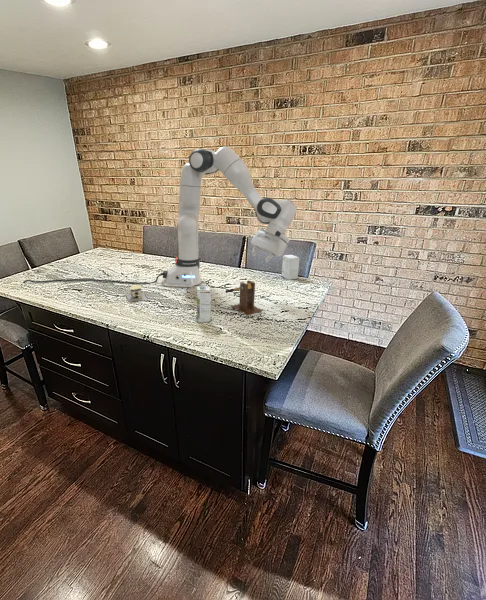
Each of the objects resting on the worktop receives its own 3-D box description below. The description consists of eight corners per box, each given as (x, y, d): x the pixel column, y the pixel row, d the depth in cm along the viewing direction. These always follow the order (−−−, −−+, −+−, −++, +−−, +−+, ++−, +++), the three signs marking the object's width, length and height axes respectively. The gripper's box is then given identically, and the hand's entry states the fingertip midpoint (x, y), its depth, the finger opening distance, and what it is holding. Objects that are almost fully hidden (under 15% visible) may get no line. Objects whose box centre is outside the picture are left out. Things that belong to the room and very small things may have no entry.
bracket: (230, 308, 157) (231, 280, 152) (245, 304, 162) (246, 277, 157) (247, 317, 148) (248, 288, 143) (262, 313, 152) (264, 284, 147)
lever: (225, 294, 158) (224, 289, 158) (240, 290, 163) (239, 285, 163) (242, 290, 147) (240, 285, 147) (257, 286, 151) (256, 281, 151)
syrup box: (196, 316, 149) (196, 285, 143) (209, 316, 149) (209, 285, 144) (197, 322, 143) (196, 290, 138) (211, 321, 144) (211, 290, 139)
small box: (297, 278, 200) (299, 257, 195) (288, 280, 198) (290, 258, 193) (290, 275, 207) (292, 254, 202) (281, 276, 205) (282, 255, 200)
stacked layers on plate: (126, 295, 174) (125, 285, 172) (143, 293, 178) (142, 283, 176) (129, 301, 166) (128, 291, 164) (147, 299, 169) (146, 289, 167)
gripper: (256, 225, 166) (242, 249, 168) (284, 235, 151) (268, 262, 152) (264, 231, 170) (250, 254, 172) (292, 241, 155) (276, 267, 156)
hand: (259, 258), depth 162 cm, fingers open, 8 cm apart
